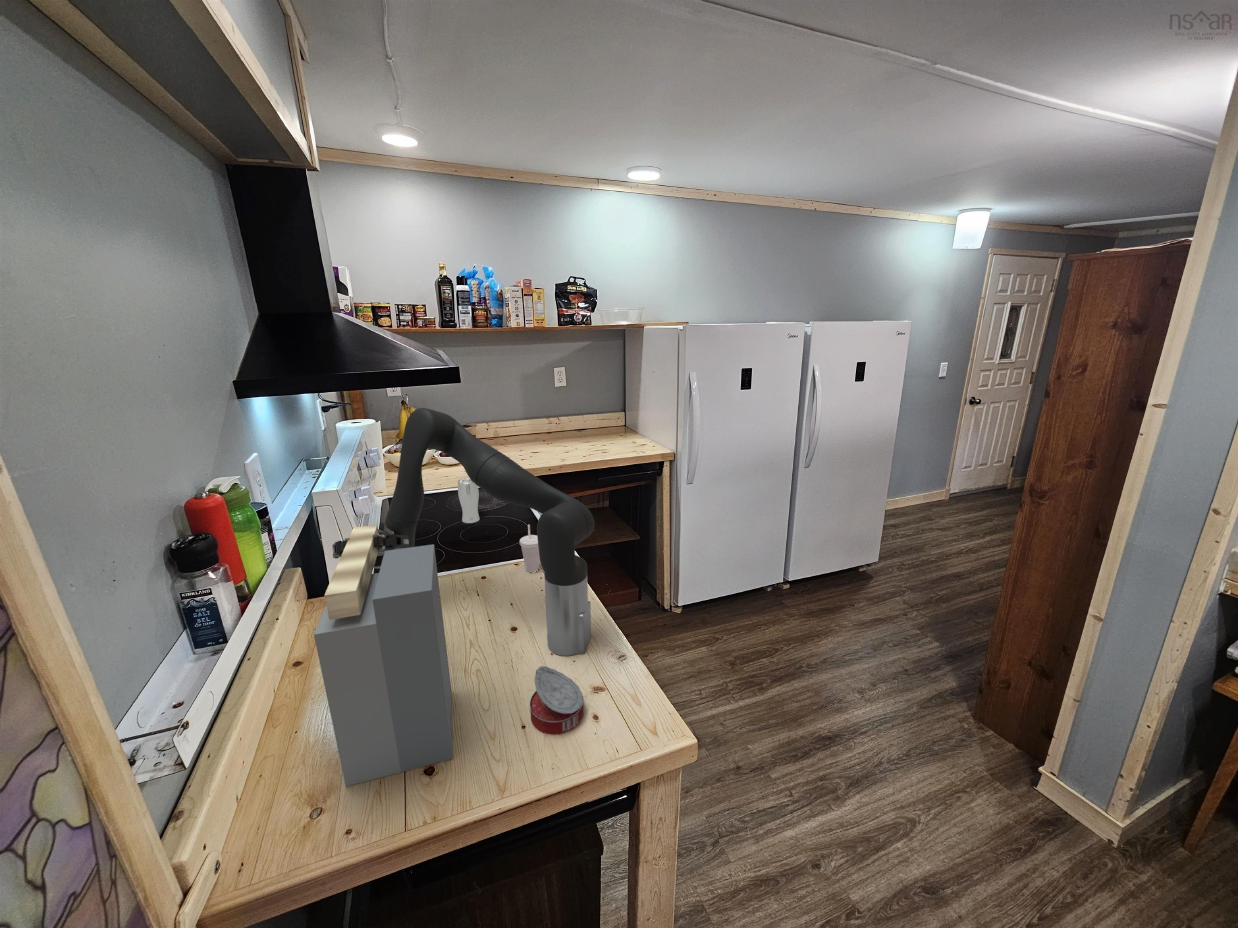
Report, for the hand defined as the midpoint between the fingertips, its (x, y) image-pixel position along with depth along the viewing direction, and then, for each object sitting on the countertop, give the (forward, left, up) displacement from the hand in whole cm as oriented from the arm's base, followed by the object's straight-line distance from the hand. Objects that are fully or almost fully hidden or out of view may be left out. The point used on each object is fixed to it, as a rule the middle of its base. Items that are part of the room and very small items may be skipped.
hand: (361, 542), depth 86 cm
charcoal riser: (-9, +8, -33) cm, 35 cm away
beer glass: (+25, -82, -33) cm, 92 cm away
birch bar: (-3, +5, -3) cm, 7 cm away
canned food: (-34, -2, -33) cm, 48 cm away
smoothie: (-10, -52, -33) cm, 63 cm away
